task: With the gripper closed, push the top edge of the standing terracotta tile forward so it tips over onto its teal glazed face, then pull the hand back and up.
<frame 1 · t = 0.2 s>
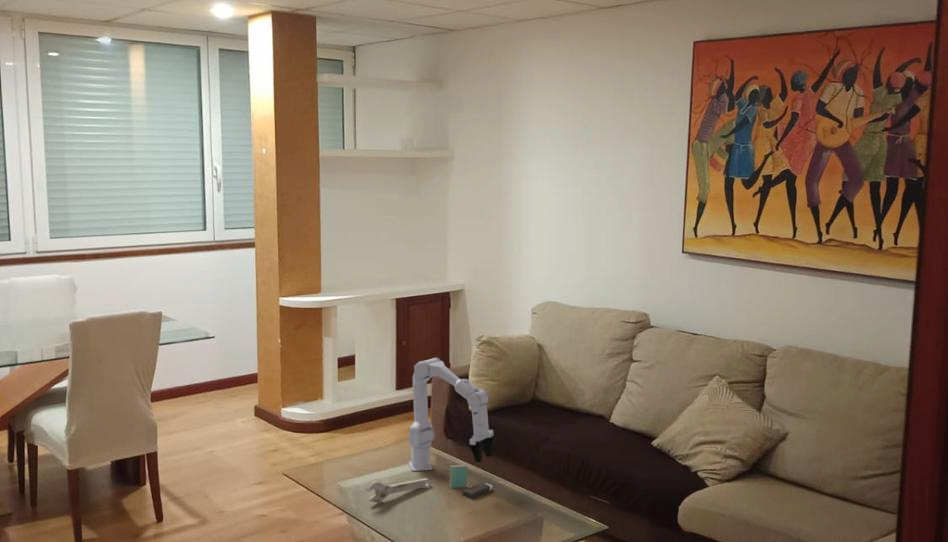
hand: (483, 459, 303), 10 cm above the table, tool pointing down, fingers open, 7 cm apart
wrench: (399, 496, 293), on the table
tile: (458, 476, 303), point 4 cm above the table
usb drive: (478, 494, 298), on the table
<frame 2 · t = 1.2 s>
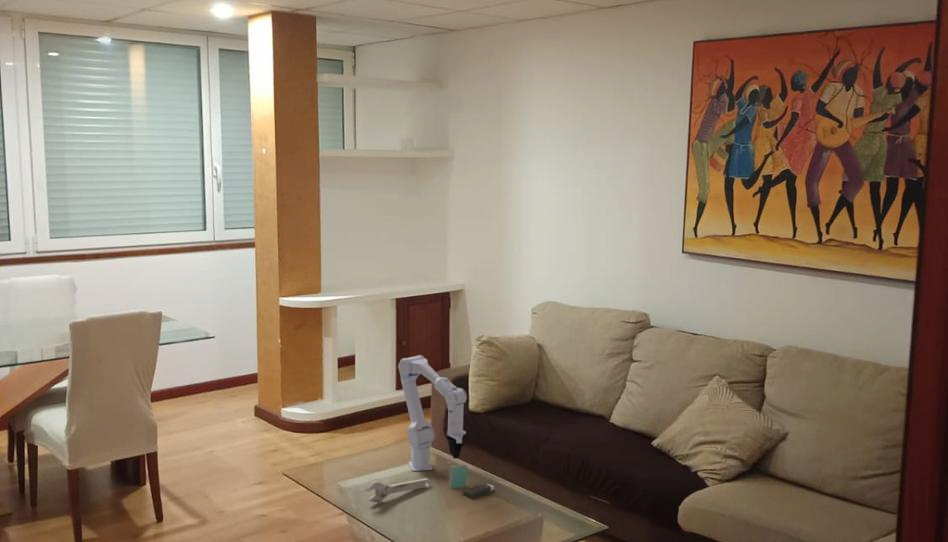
hand: (454, 455, 309), 9 cm above the table, tool pointing down, fingers open, 4 cm apart
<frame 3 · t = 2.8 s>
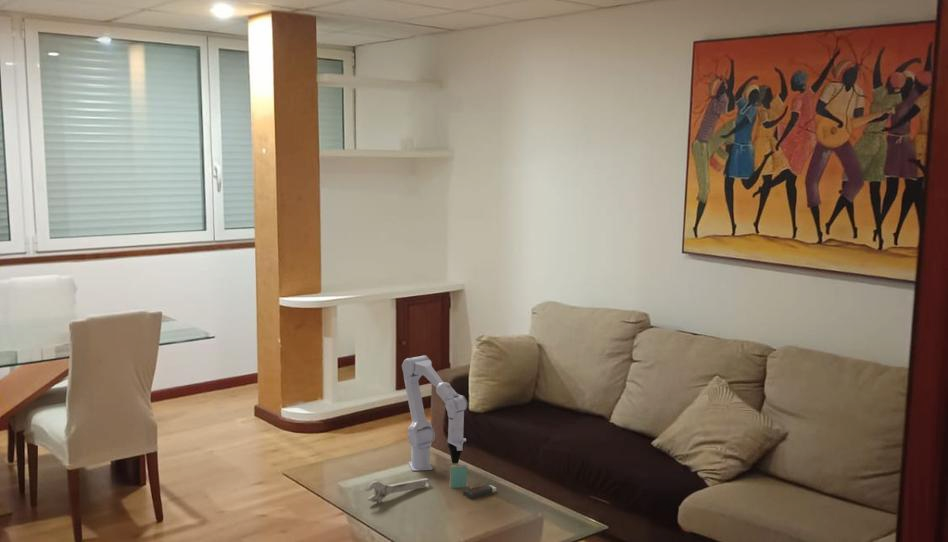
hand: (454, 462, 308), 7 cm above the table, tool pointing down, fingers closed
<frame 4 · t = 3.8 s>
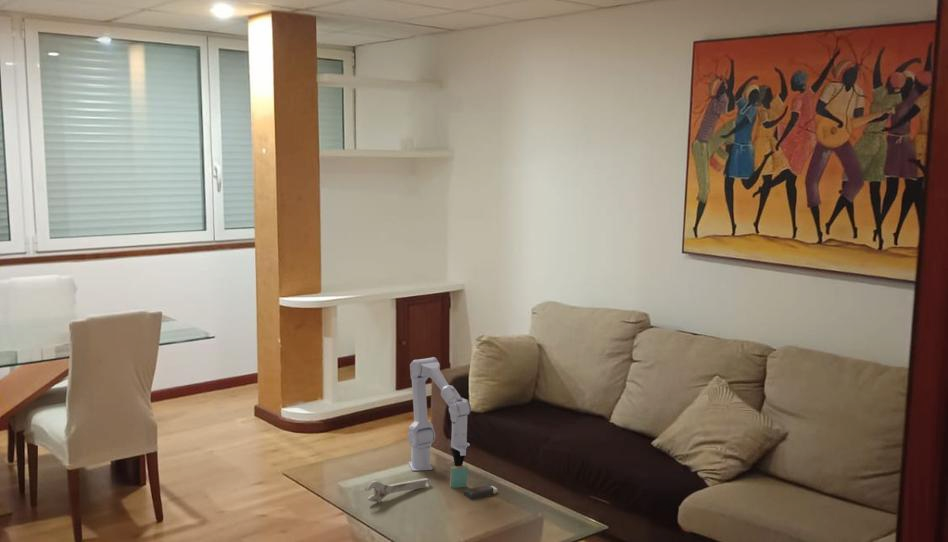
hand: (458, 468, 303), 7 cm above the table, tool pointing down, fingers closed
tile: (458, 476, 302), point 4 cm above the table, tilted 10°
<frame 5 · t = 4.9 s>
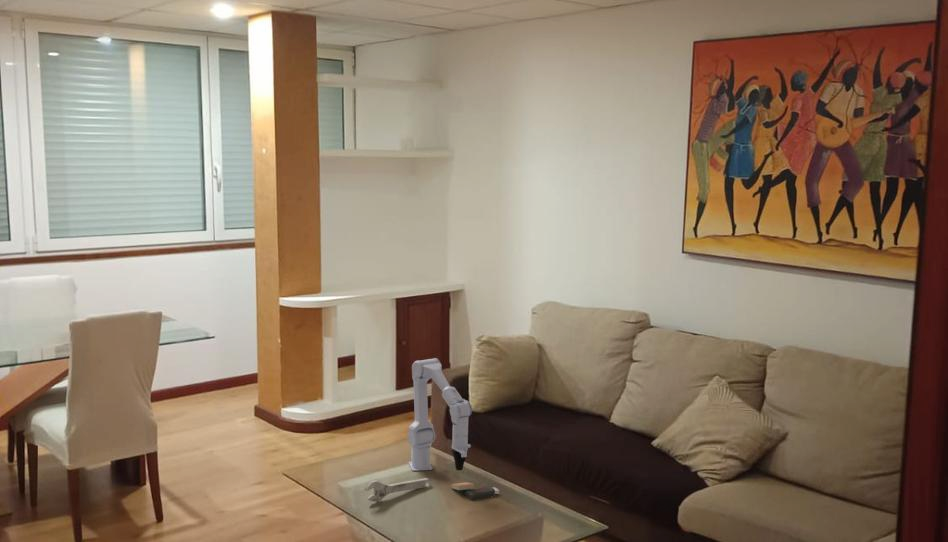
hand: (459, 469, 301), 7 cm above the table, tool pointing down, fingers closed
tile: (462, 486, 299), point 2 cm above the table, tilted 74°, touching usb drive
usb drive: (482, 497, 296), on the table, touching tile
everything else where it was.
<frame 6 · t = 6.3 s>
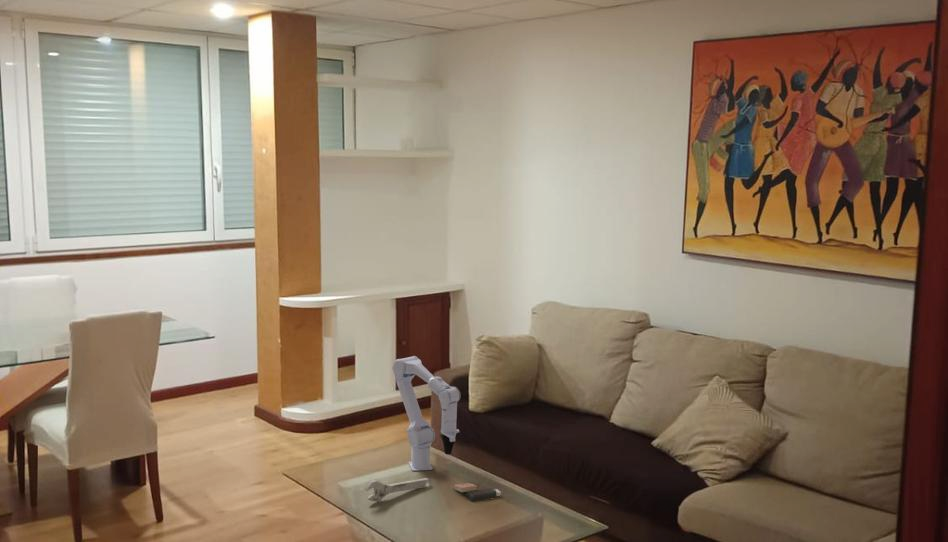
hand: (447, 453, 311), 9 cm above the table, tool pointing down, fingers closed
tile: (465, 487, 298), point 2 cm above the table, tilted 77°, touching usb drive
usb drive: (483, 498, 294), on the table, touching tile
everything else where it was.
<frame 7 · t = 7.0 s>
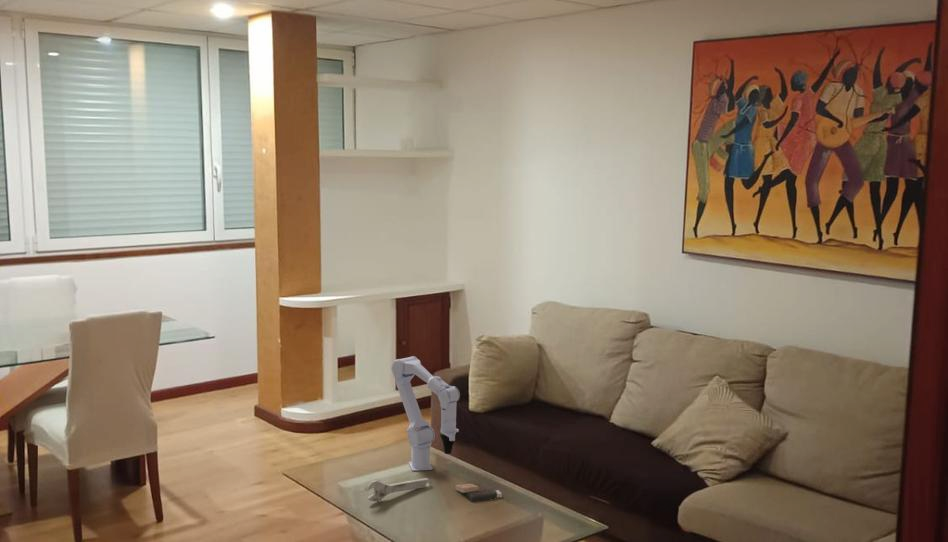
hand: (447, 453, 311), 9 cm above the table, tool pointing down, fingers closed
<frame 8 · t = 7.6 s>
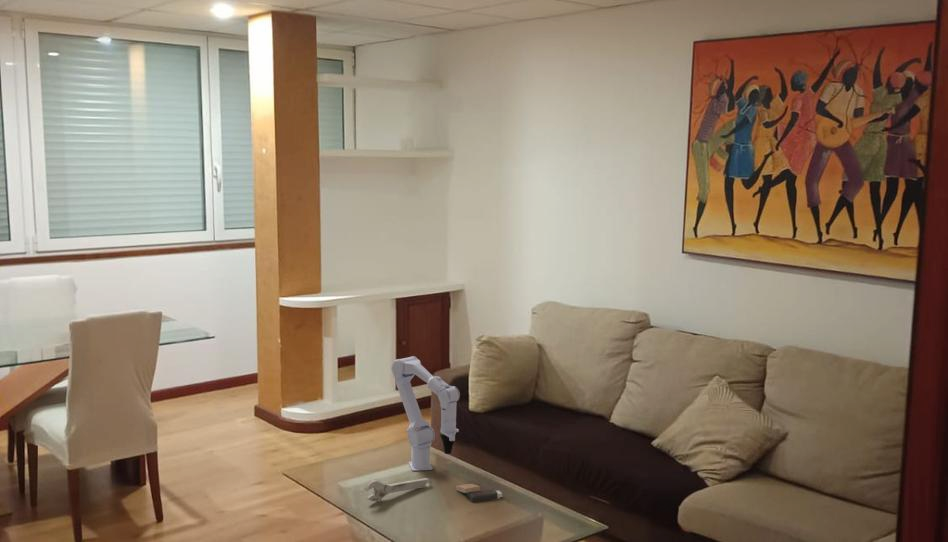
hand: (447, 453, 311), 9 cm above the table, tool pointing down, fingers closed
tile: (468, 488, 297), point 2 cm above the table, tilted 76°
usb drive: (485, 499, 293), on the table
everything else where it was.
at the end: tile tilted 76°; tile inside the target area (2.7 cm from its centre), point 1.7 cm above the table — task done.
